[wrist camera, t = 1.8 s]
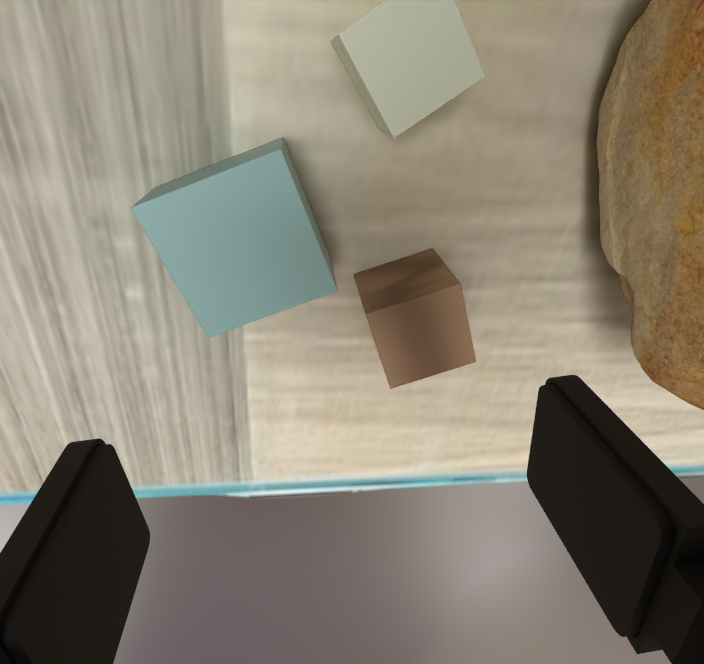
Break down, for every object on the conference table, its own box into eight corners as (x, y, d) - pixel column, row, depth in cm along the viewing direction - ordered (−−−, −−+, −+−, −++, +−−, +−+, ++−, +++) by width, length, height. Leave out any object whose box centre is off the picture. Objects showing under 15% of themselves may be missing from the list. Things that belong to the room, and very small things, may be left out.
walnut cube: (431, 247, 31) (460, 283, 26) (447, 317, 34) (476, 361, 28) (353, 274, 31) (365, 314, 26) (375, 340, 34) (390, 388, 29)
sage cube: (412, -19, 24) (438, -40, 19) (453, 75, 26) (485, 76, 22) (330, 41, 25) (338, 34, 20) (377, 127, 27) (393, 138, 23)
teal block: (282, 136, 27) (280, 149, 22) (331, 259, 31) (337, 290, 26) (156, 186, 27) (130, 207, 23) (219, 301, 31) (207, 337, 27)
